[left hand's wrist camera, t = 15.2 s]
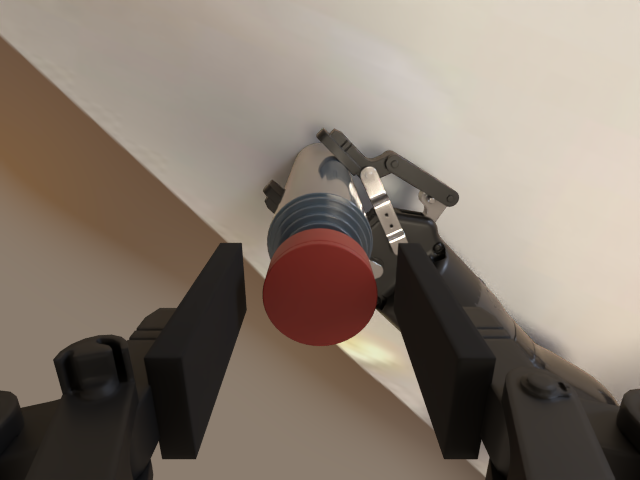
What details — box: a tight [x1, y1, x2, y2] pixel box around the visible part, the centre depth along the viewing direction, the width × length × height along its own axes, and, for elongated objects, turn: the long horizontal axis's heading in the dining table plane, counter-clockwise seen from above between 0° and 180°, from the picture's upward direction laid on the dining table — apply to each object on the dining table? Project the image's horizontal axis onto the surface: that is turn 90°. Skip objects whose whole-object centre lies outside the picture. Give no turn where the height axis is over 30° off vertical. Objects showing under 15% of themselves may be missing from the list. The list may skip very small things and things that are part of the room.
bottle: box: [267, 143, 373, 259], centre depth 24 cm, size 5×5×23 cm
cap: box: [263, 228, 378, 346], centre depth 14 cm, size 4×4×2 cm
